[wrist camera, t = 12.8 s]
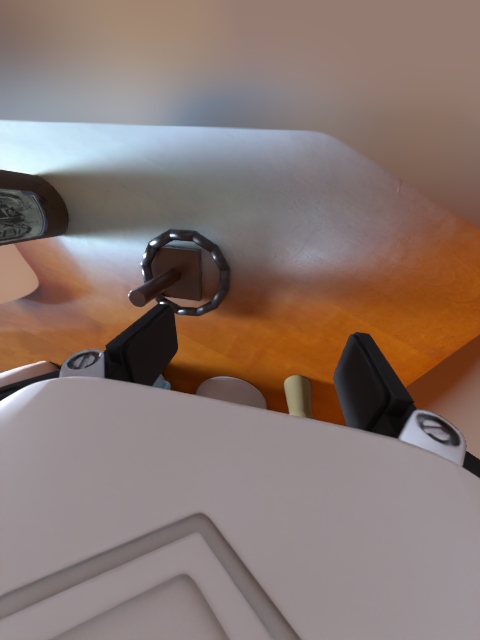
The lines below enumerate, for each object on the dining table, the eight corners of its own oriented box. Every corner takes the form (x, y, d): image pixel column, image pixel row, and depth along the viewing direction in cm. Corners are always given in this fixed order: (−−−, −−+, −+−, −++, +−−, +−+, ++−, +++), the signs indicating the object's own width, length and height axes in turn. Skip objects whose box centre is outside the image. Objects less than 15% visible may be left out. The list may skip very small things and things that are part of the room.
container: (240, 435, 58) (228, 499, 45) (183, 402, 55) (154, 461, 42) (283, 403, 49) (284, 473, 36) (218, 362, 46) (194, 423, 33)
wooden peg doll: (289, 372, 44) (292, 417, 35) (316, 380, 44) (326, 427, 34) (279, 390, 47) (280, 436, 38) (304, 397, 47) (311, 446, 37)
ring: (137, 226, 33) (131, 227, 31) (231, 232, 32) (230, 233, 31) (151, 310, 40) (148, 314, 39) (228, 315, 40) (227, 319, 39)
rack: (151, 244, 36) (96, 260, 25) (200, 249, 34) (165, 268, 24) (158, 292, 40) (114, 323, 29) (202, 298, 39) (173, 332, 28)
